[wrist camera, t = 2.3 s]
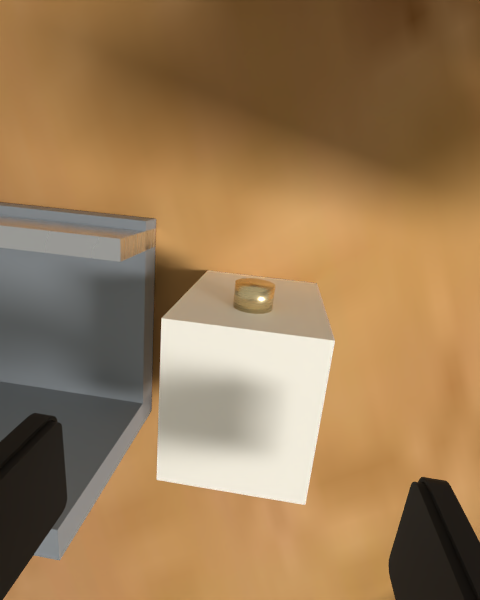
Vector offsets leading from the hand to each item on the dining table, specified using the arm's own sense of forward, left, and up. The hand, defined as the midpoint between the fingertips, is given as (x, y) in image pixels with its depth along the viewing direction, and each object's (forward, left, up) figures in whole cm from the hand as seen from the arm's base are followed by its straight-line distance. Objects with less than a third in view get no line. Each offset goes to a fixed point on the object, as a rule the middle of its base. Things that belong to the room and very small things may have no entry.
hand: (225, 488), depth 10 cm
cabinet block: (-1, 0, -12) cm, 12 cm away
